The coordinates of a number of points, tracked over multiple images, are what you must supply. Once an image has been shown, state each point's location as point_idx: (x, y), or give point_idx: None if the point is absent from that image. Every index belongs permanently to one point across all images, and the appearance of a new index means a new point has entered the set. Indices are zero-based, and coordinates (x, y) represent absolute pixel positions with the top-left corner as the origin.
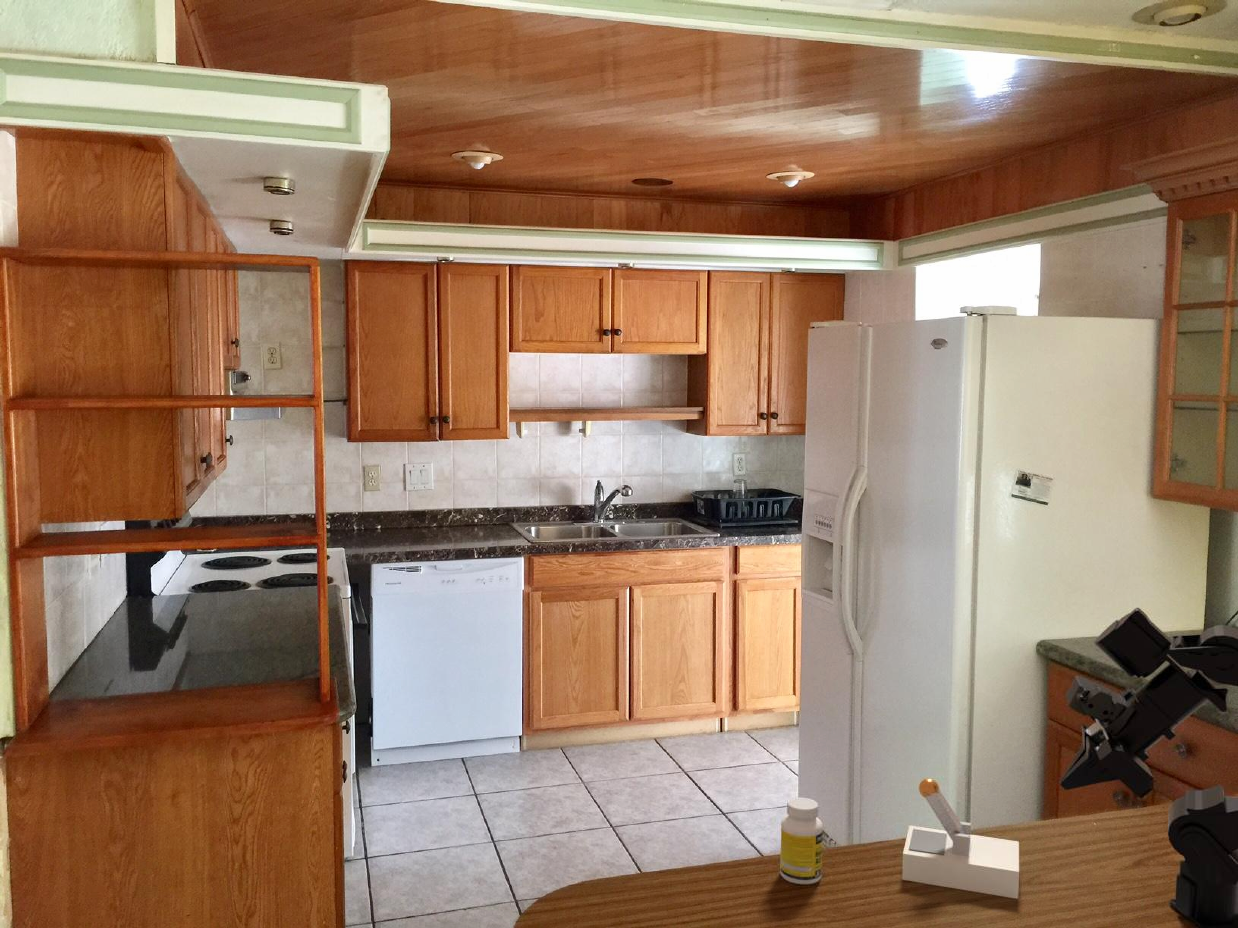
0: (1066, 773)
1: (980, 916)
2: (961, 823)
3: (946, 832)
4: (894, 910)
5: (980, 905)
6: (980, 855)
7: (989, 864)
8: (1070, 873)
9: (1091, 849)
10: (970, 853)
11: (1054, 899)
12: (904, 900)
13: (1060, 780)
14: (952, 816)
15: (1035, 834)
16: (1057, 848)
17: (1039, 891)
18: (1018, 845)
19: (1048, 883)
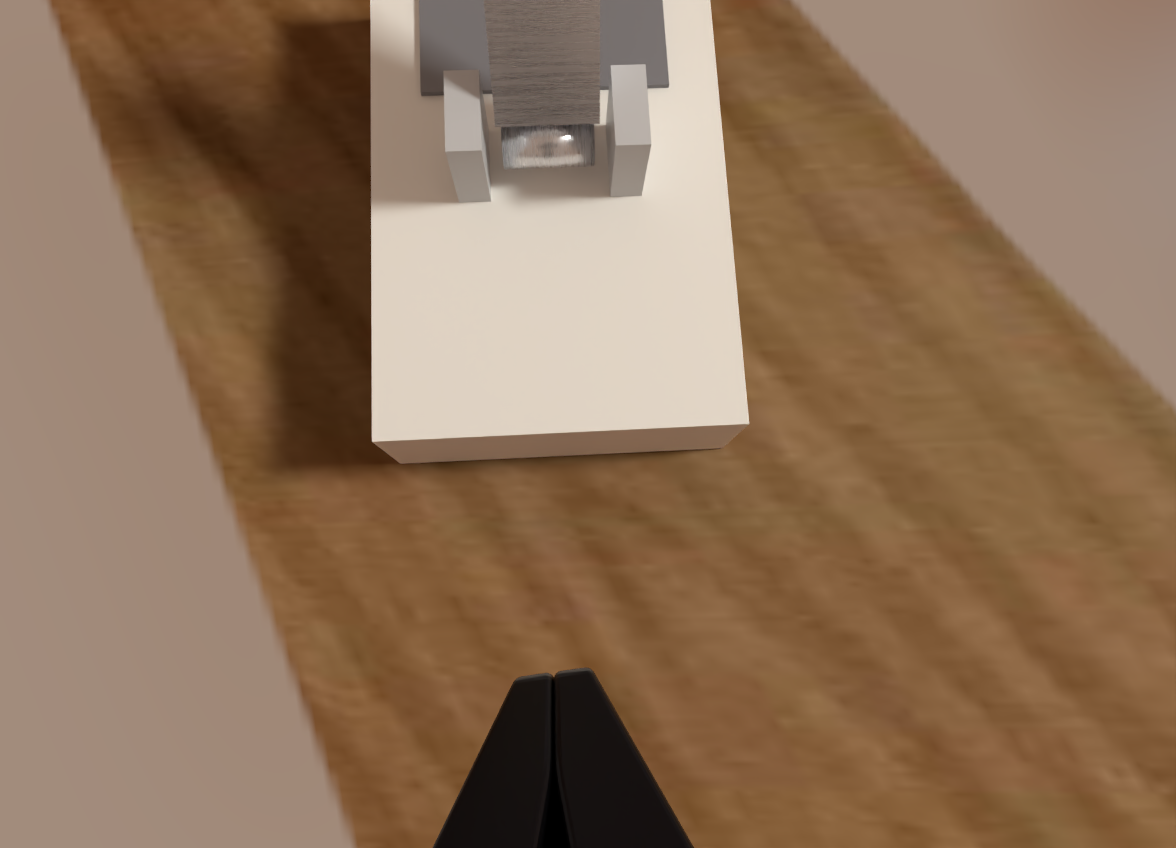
0: (567, 768)
1: (183, 326)
2: (622, 99)
3: (697, 83)
4: (123, 22)
5: (281, 319)
6: (492, 254)
7: (402, 301)
8: (762, 685)
9: (1095, 787)
10: (493, 207)
11: (457, 617)
12: (218, 45)
13: (572, 679)
14: (514, 9)
15: (1132, 512)
16: (1020, 620)
17: (511, 550)
18: (697, 425)
19: (610, 587)
